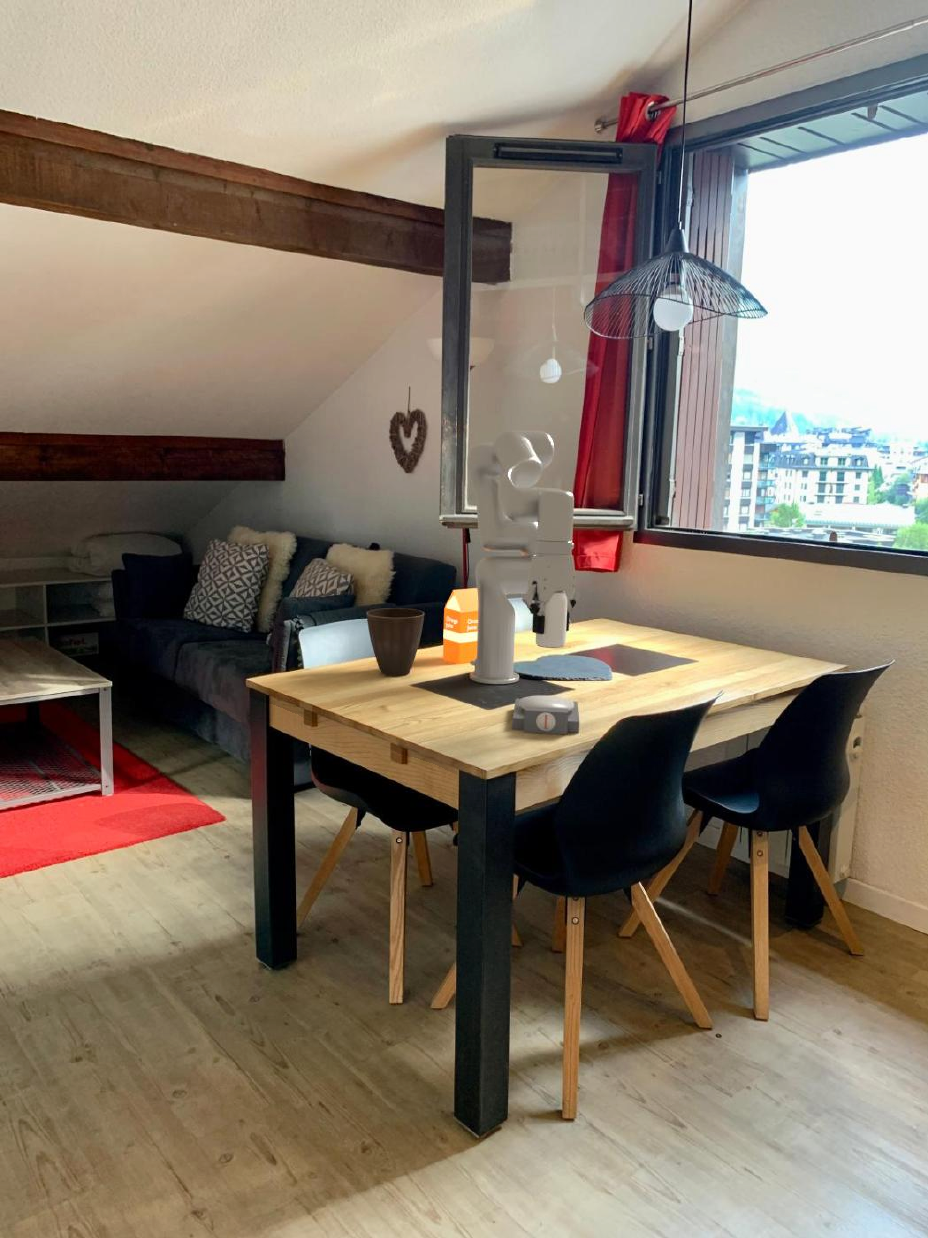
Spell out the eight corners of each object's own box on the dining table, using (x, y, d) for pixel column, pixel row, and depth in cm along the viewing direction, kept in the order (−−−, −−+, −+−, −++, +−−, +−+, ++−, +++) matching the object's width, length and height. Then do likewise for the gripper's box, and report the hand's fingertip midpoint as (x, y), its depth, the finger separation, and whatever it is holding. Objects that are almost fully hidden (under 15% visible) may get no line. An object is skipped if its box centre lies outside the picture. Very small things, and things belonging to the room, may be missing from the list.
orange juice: (442, 659, 265) (444, 588, 262) (467, 655, 271) (469, 586, 267) (459, 664, 259) (461, 592, 256) (484, 660, 264) (487, 589, 261)
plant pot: (362, 678, 240) (362, 616, 237) (369, 665, 255) (370, 606, 252) (420, 681, 240) (422, 618, 237) (425, 667, 254) (426, 608, 252)
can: (563, 642, 209) (565, 588, 207) (567, 648, 202) (570, 592, 200) (533, 642, 209) (536, 588, 206) (537, 648, 202) (539, 592, 200)
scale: (515, 708, 217) (516, 688, 216) (576, 712, 215) (578, 691, 214) (511, 732, 198) (512, 710, 198) (579, 736, 197) (580, 713, 196)
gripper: (572, 545, 210) (568, 625, 213) (511, 548, 200) (508, 632, 203) (596, 549, 204) (591, 631, 207) (534, 552, 194) (531, 638, 197)
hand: (550, 631), depth 205 cm, fingers closed on can, 6 cm apart
